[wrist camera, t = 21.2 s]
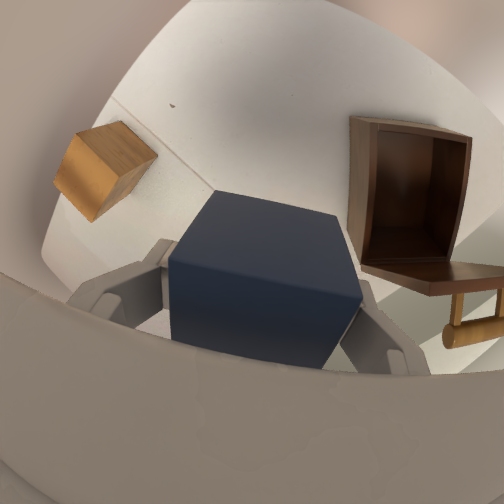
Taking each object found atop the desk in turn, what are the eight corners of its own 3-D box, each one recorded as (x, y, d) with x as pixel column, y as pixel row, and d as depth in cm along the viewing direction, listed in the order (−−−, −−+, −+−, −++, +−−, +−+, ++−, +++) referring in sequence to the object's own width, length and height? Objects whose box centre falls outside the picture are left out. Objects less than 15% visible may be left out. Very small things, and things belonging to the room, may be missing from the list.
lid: (429, 282, 12) (419, 368, 12) (544, 271, 10) (536, 335, 11) (360, 263, 29) (359, 308, 29) (450, 261, 27) (448, 301, 27)
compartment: (349, 116, 28) (369, 122, 21) (435, 125, 26) (472, 137, 19) (346, 229, 36) (359, 265, 29) (423, 229, 34) (449, 262, 27)
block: (214, 189, 10) (167, 256, 6) (337, 215, 10) (365, 297, 6) (205, 285, 12) (173, 367, 8) (303, 305, 12) (305, 393, 8)
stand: (120, 120, 31) (75, 133, 23) (158, 155, 34) (119, 177, 25) (95, 161, 35) (52, 183, 26) (129, 194, 37) (91, 223, 29)
